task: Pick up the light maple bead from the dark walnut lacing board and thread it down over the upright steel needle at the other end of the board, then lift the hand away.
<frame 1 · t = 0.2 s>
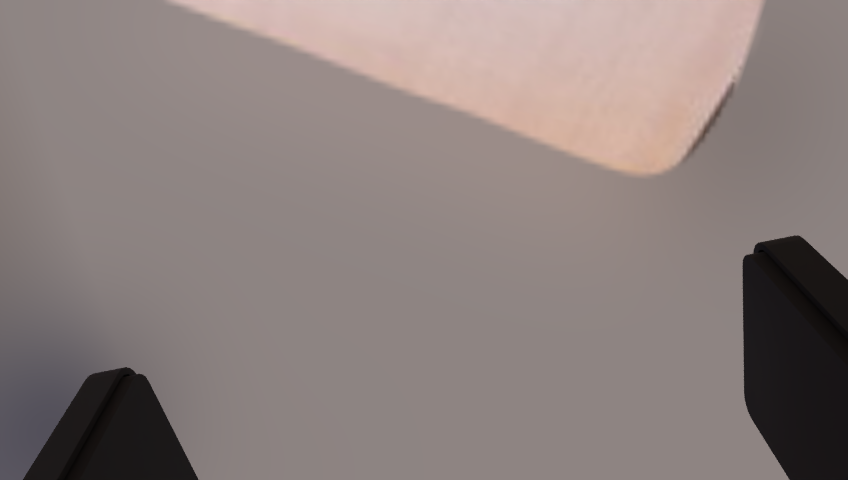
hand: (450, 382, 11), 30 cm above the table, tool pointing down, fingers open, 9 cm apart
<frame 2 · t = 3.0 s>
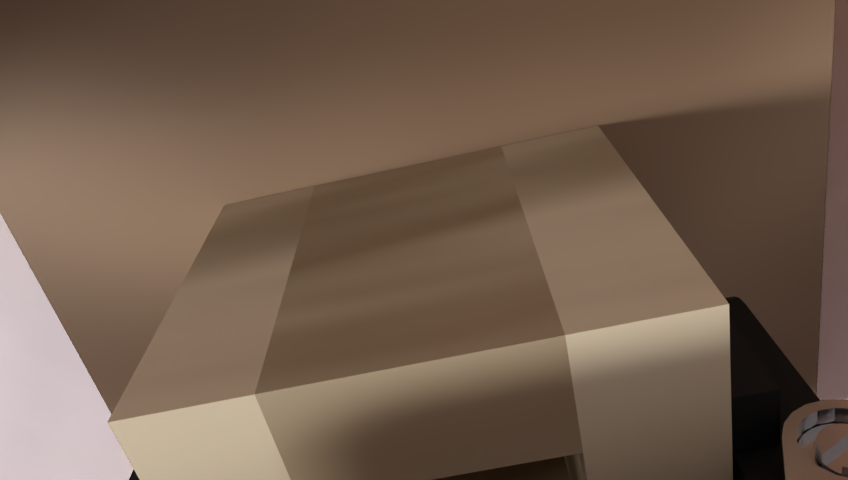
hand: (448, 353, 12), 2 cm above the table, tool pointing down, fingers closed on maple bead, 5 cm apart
maple bead: (445, 321, 13), point 2 cm above the table, touching gripper, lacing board
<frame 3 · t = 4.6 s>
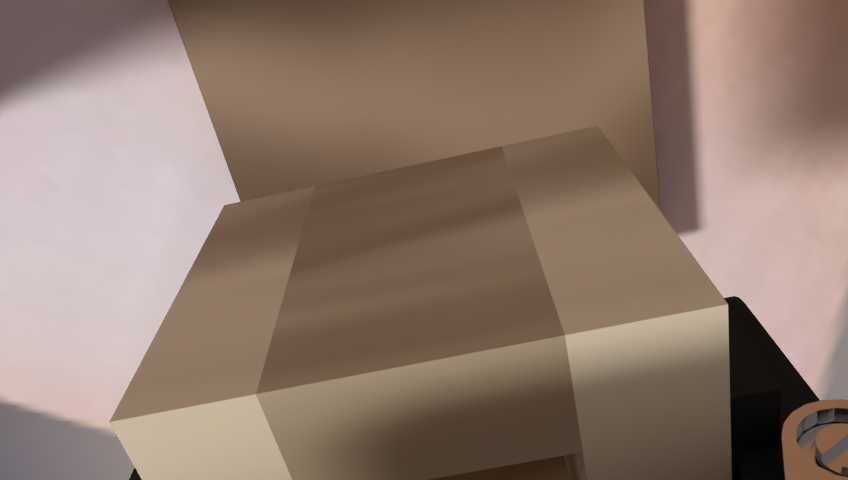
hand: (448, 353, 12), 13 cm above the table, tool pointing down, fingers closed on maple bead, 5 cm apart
maple bead: (445, 321, 13), point 12 cm above the table, touching gripper
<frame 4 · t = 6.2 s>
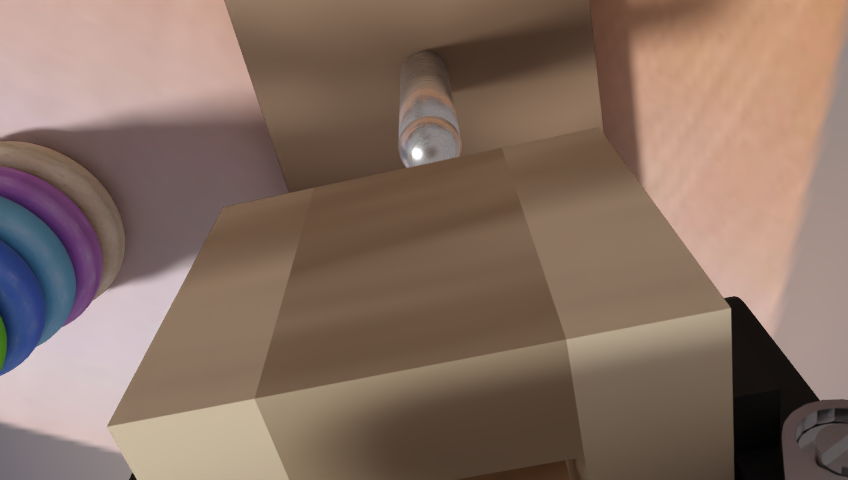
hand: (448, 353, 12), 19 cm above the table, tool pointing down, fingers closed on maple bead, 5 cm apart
stacking toy: (42, 218, 32), on the table
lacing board: (448, 177, 31), on the table
steel needle: (424, 74, 27), resting on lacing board
maple bead: (445, 323, 12), point 18 cm above the table, touching gripper
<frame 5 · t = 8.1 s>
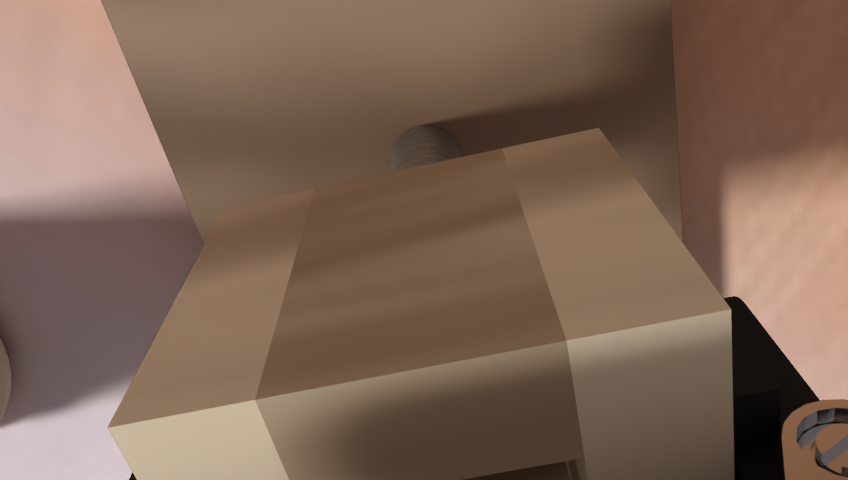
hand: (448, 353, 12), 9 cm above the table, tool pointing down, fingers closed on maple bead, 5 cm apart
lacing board: (458, 285, 22), on the table
steel needle: (425, 157, 19), resting on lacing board
maple bead: (445, 323, 12), point 9 cm above the table, touching gripper
when the fingers open (5 cm above the table, at t = 9.4 s): maple bead drops 3 cm, resting on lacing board.
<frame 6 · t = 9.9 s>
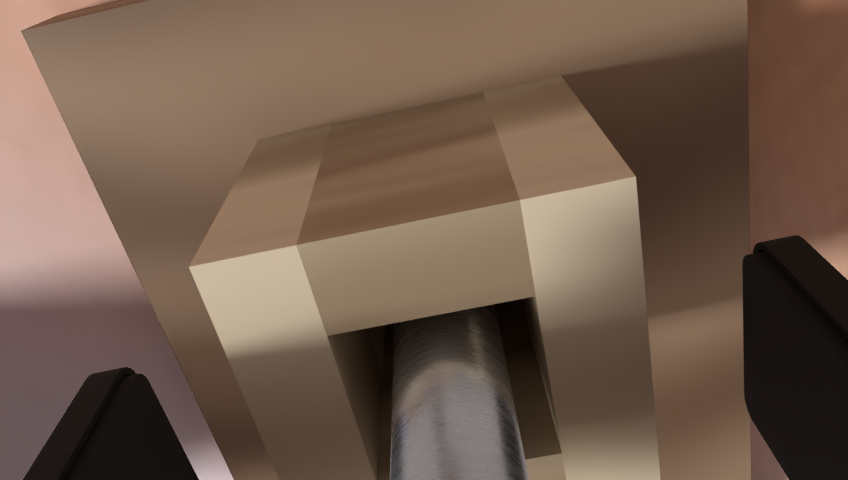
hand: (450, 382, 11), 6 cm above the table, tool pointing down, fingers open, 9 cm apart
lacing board: (475, 380, 19), on the table
steel needle: (438, 243, 15), resting on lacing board
maple bead: (437, 242, 15), point 1 cm above the table, touching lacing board
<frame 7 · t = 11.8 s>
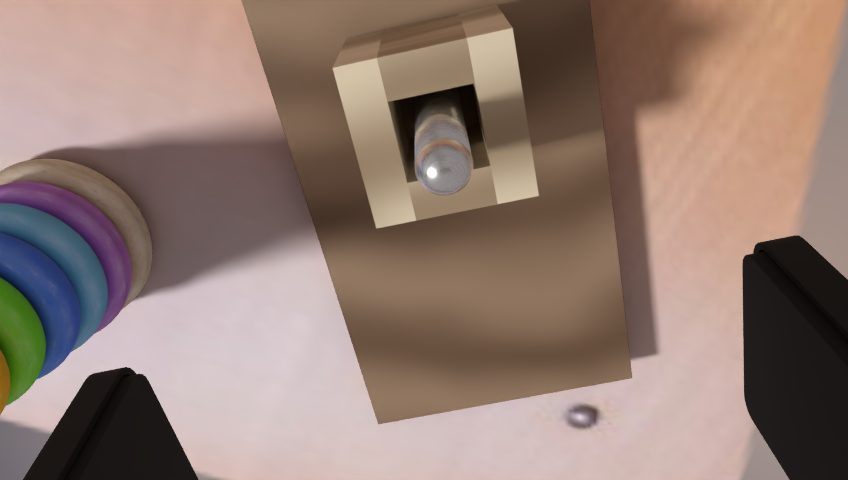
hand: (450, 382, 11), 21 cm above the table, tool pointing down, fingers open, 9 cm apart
stacking toy: (74, 231, 33), on the table
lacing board: (459, 193, 32), on the table
steel needle: (436, 97, 29), resting on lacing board
maple bead: (436, 96, 29), point 1 cm above the table, touching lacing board
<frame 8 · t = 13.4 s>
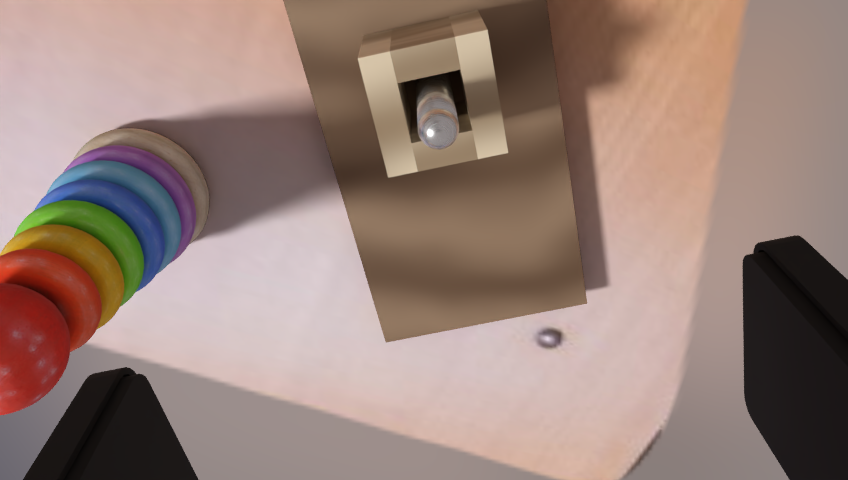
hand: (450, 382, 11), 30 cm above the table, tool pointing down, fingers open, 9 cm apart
stacking toy: (146, 187, 42), on the table
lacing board: (449, 155, 42), on the table
steel needle: (432, 79, 38), resting on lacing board
maple bead: (432, 79, 38), point 1 cm above the table, touching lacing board
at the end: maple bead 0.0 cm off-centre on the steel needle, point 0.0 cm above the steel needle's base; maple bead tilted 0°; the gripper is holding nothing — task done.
